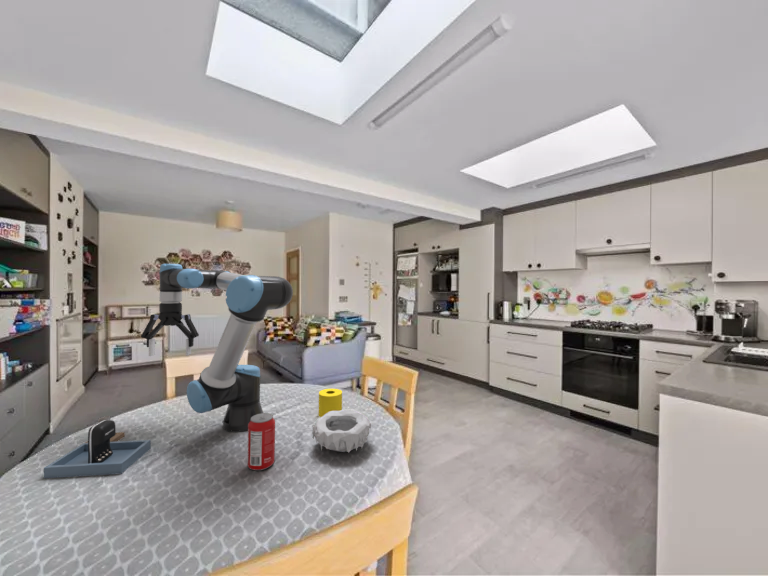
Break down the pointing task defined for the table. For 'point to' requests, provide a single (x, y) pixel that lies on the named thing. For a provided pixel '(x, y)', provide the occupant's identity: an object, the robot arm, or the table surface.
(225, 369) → the robot arm
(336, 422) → the bowl
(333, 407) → the tape roll
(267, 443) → the soda can
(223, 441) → the table surface
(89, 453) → the battery charger
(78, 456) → the parts tray
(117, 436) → the wooden base with post
